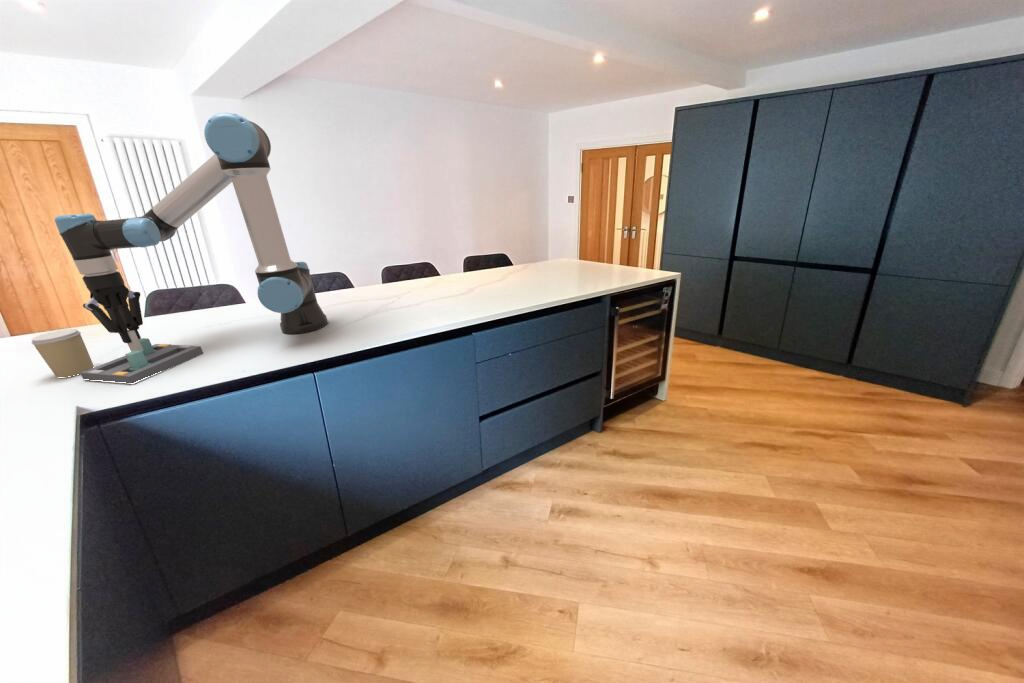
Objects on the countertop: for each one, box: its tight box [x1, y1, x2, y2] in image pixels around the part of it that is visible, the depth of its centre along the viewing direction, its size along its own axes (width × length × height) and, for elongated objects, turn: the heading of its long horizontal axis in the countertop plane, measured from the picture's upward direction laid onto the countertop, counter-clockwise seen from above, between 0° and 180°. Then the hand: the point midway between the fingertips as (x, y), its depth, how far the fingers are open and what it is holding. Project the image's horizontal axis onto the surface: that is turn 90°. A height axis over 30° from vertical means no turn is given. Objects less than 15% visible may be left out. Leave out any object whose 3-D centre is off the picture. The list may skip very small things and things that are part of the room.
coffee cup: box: [31, 328, 95, 378], centre depth 111 cm, size 9×9×12 cm
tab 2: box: [139, 337, 157, 355], centre depth 117 cm, size 3×4×5 cm
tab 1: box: [124, 350, 152, 373], centre depth 108 cm, size 3×4×5 cm
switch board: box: [80, 343, 204, 383], centre depth 113 cm, size 18×20×3 cm
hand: (137, 351), depth 115 cm, fingers closed
